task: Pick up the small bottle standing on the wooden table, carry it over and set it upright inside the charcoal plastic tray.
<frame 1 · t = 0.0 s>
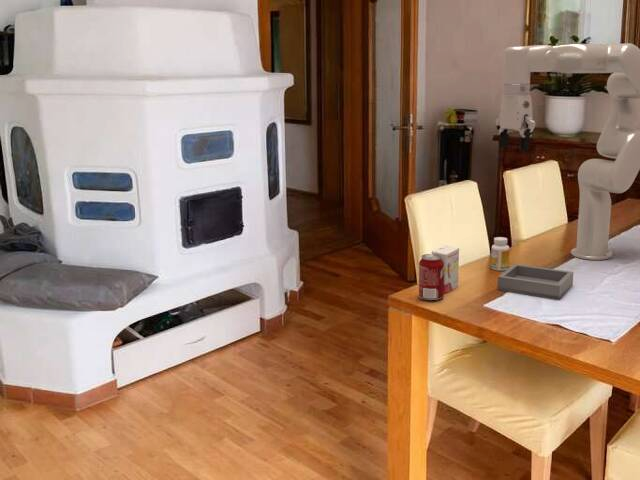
hand: (513, 149, 196), 37 cm above the table, tool pointing down, fingers open, 9 cm apart
supplement bottle: (499, 269, 206), on the table
tray: (535, 287, 188), on the table
soda can: (431, 298, 182), on the table
ink box: (444, 289, 190), on the table
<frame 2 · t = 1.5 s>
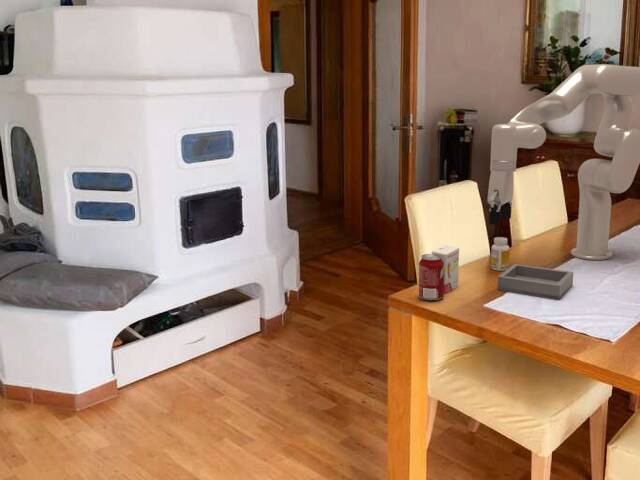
hand: (500, 221, 202), 15 cm above the table, tool pointing down, fingers open, 9 cm apart
nothing on the table moved.
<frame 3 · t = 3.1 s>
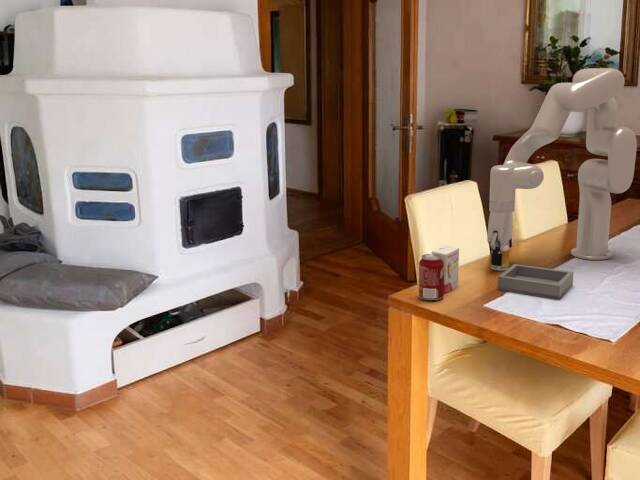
hand: (499, 262, 206), 2 cm above the table, tool pointing down, fingers closed on supplement bottle, 5 cm apart
supplement bottle: (499, 269, 206), on the table, touching gripper
everything else where it was.
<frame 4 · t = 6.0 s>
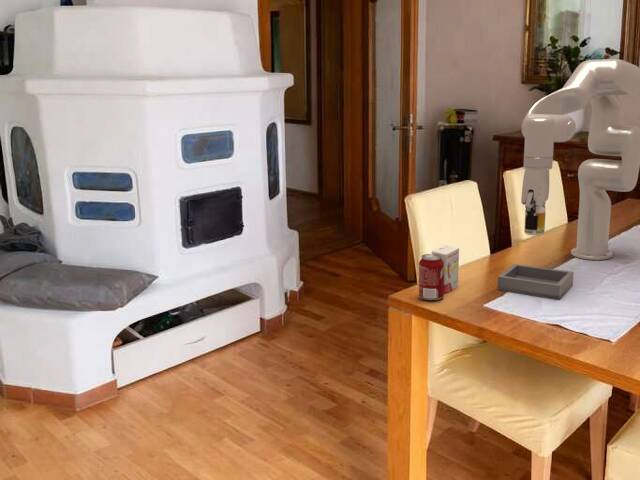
hand: (534, 226, 185), 18 cm above the table, tool pointing down, fingers closed on supplement bottle, 5 cm apart
supplement bottle: (534, 234, 185), point 15 cm above the table, touching gripper
everything else where it was.
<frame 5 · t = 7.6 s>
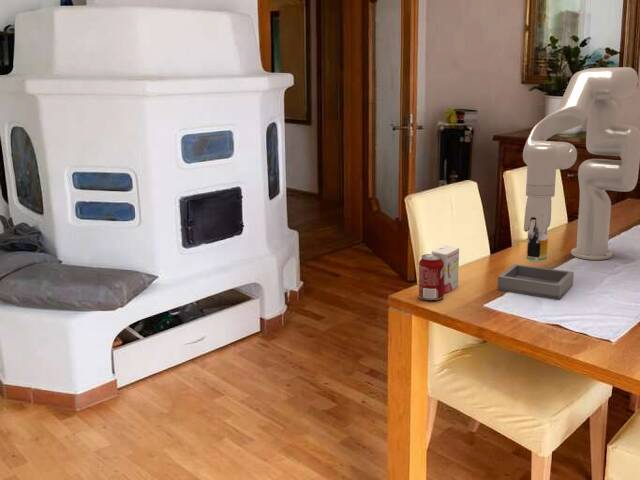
hand: (536, 253, 185), 10 cm above the table, tool pointing down, fingers closed on supplement bottle, 5 cm apart
supplement bottle: (536, 260, 186), point 8 cm above the table, touching gripper
everything else where it was.
when the fingers open (5 cm above the table, at t = 9.0 s): supplement bottle drops 2 cm, resting on tray.
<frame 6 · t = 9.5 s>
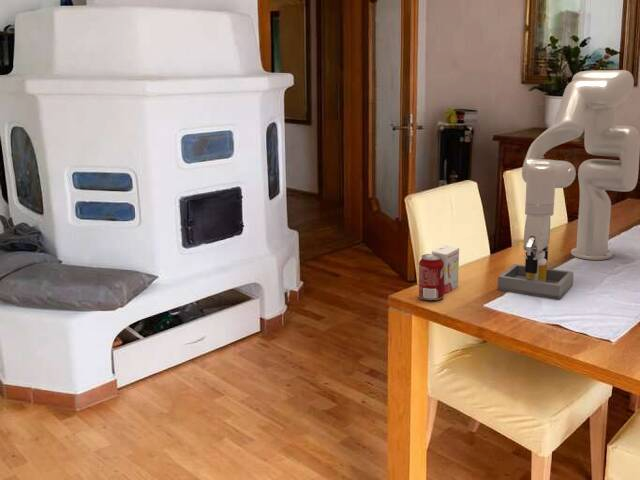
hand: (536, 268, 186), 6 cm above the table, tool pointing down, fingers open, 9 cm apart
supplement bottle: (535, 284, 188), point 1 cm above the table, touching tray
everything else where it was.
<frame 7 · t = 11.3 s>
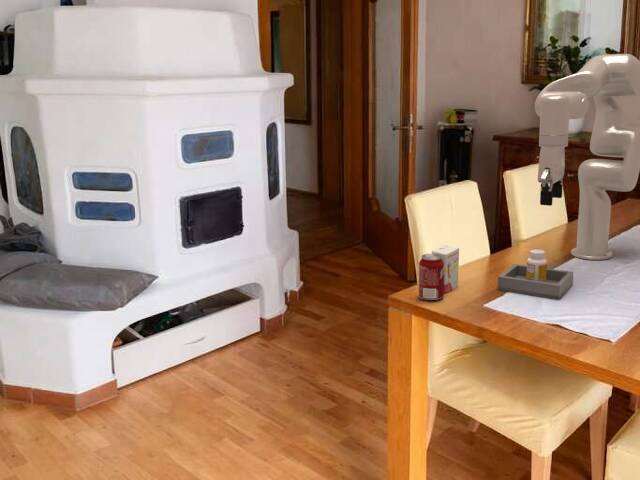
hand: (551, 201, 186), 24 cm above the table, tool pointing down, fingers open, 9 cm apart
nothing on the table moved.
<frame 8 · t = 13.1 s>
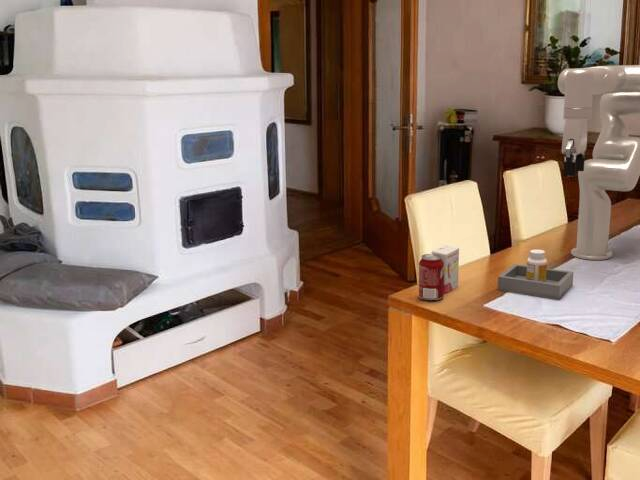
hand: (573, 173, 193), 30 cm above the table, tool pointing down, fingers open, 9 cm apart
nothing on the table moved.
at the end: supplement bottle inside the target area on the tray (0.3 cm from its centre), point 0.8 cm above the tray's base; supplement bottle tilted 0°; the gripper is holding nothing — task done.
